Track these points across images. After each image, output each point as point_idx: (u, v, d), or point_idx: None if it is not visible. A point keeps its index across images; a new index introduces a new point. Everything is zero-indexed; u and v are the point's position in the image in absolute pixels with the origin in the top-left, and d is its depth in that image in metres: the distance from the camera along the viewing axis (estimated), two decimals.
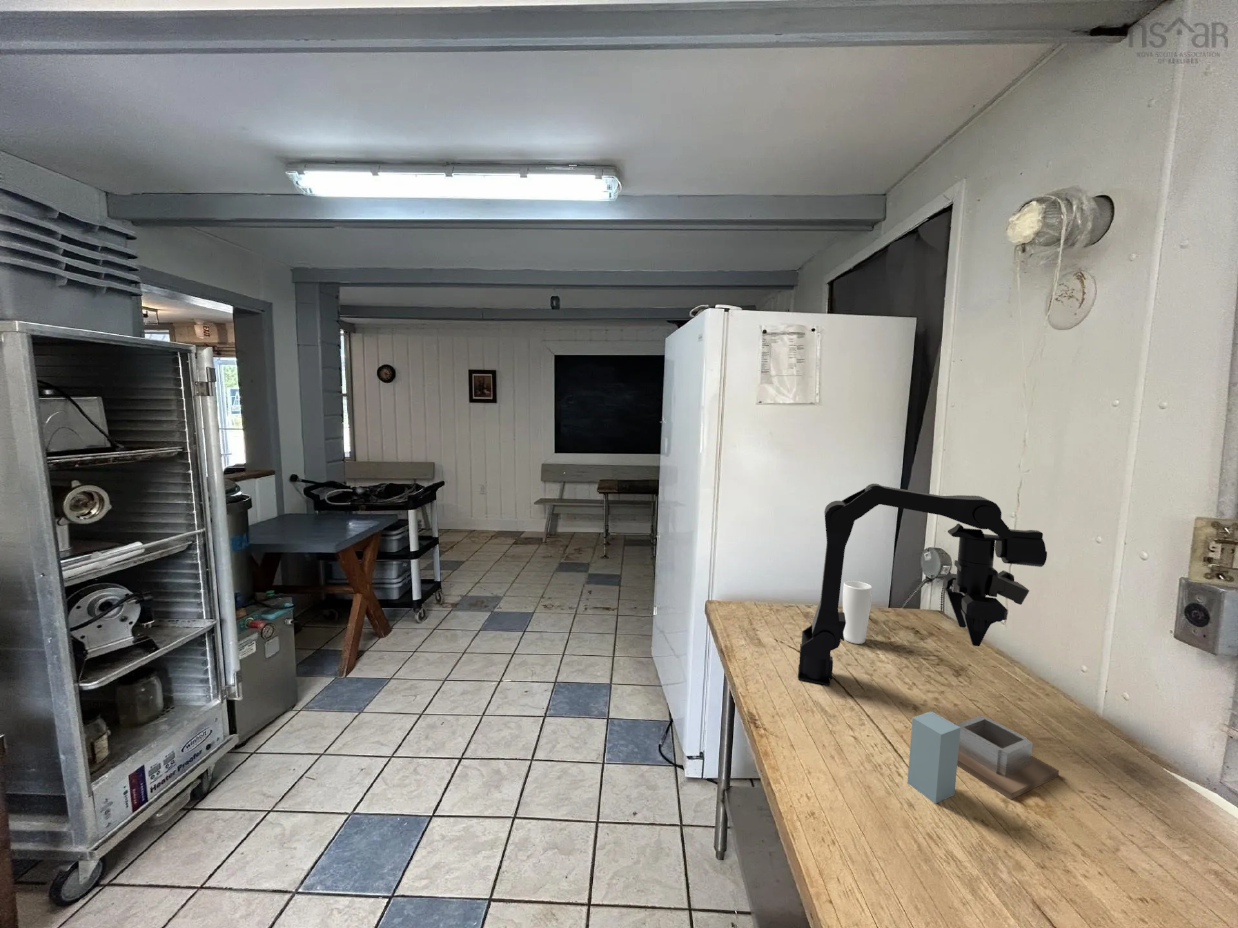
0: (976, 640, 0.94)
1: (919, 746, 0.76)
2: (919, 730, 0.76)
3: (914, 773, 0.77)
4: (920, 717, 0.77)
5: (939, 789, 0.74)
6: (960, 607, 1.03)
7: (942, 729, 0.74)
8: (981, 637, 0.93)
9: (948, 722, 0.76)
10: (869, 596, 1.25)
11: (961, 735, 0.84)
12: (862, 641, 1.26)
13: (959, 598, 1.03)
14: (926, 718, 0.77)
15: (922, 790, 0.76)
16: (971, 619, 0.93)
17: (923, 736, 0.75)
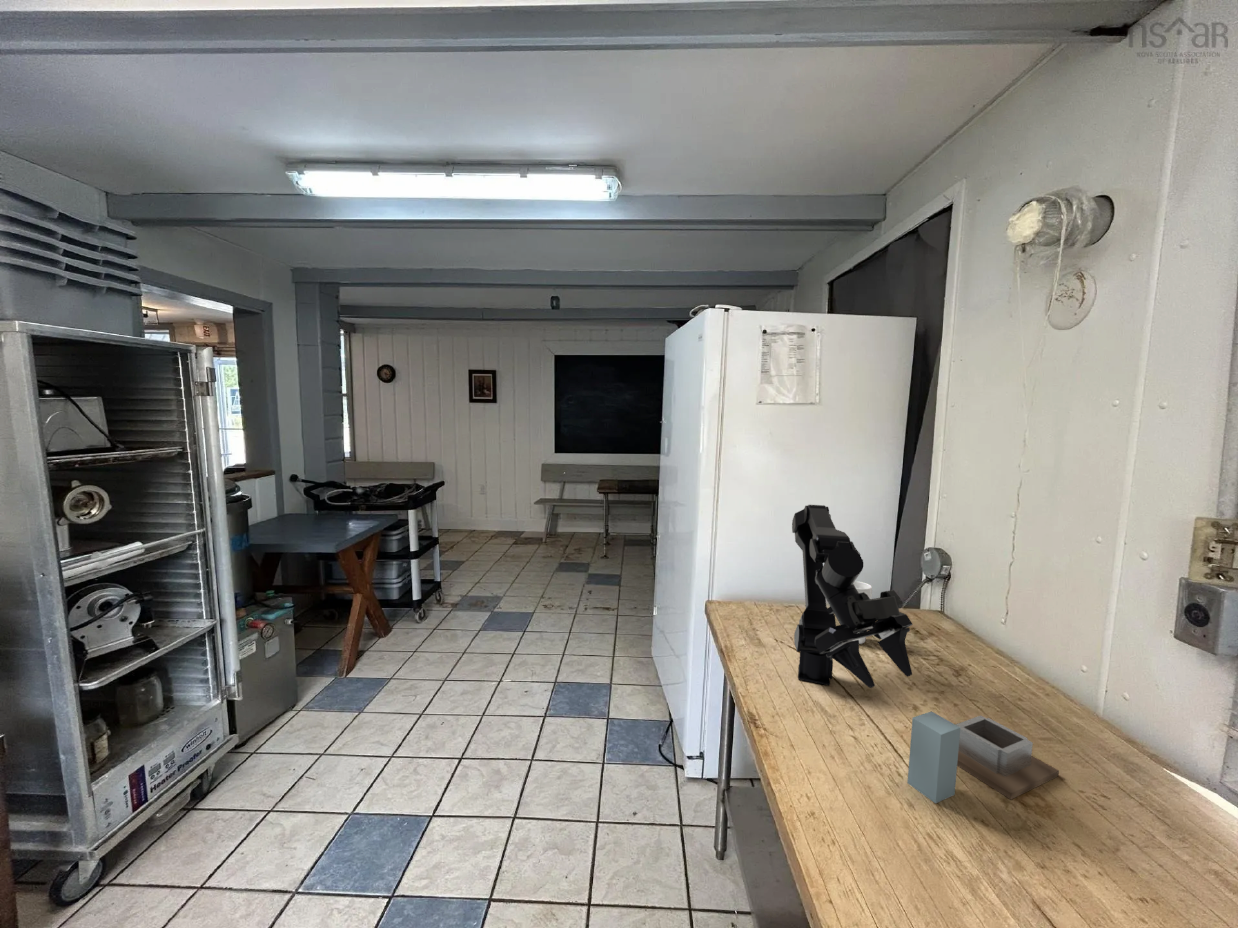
0: (865, 680, 0.82)
1: (919, 746, 0.76)
2: (919, 730, 0.76)
3: (914, 773, 0.77)
4: (920, 717, 0.77)
5: (939, 789, 0.74)
6: (894, 653, 0.88)
7: (942, 729, 0.74)
8: (865, 674, 0.82)
9: (948, 722, 0.76)
10: (869, 596, 1.25)
11: (961, 735, 0.84)
12: (862, 641, 1.26)
13: (888, 643, 0.89)
14: (926, 718, 0.77)
15: (922, 790, 0.76)
16: (840, 658, 0.85)
17: (923, 736, 0.75)
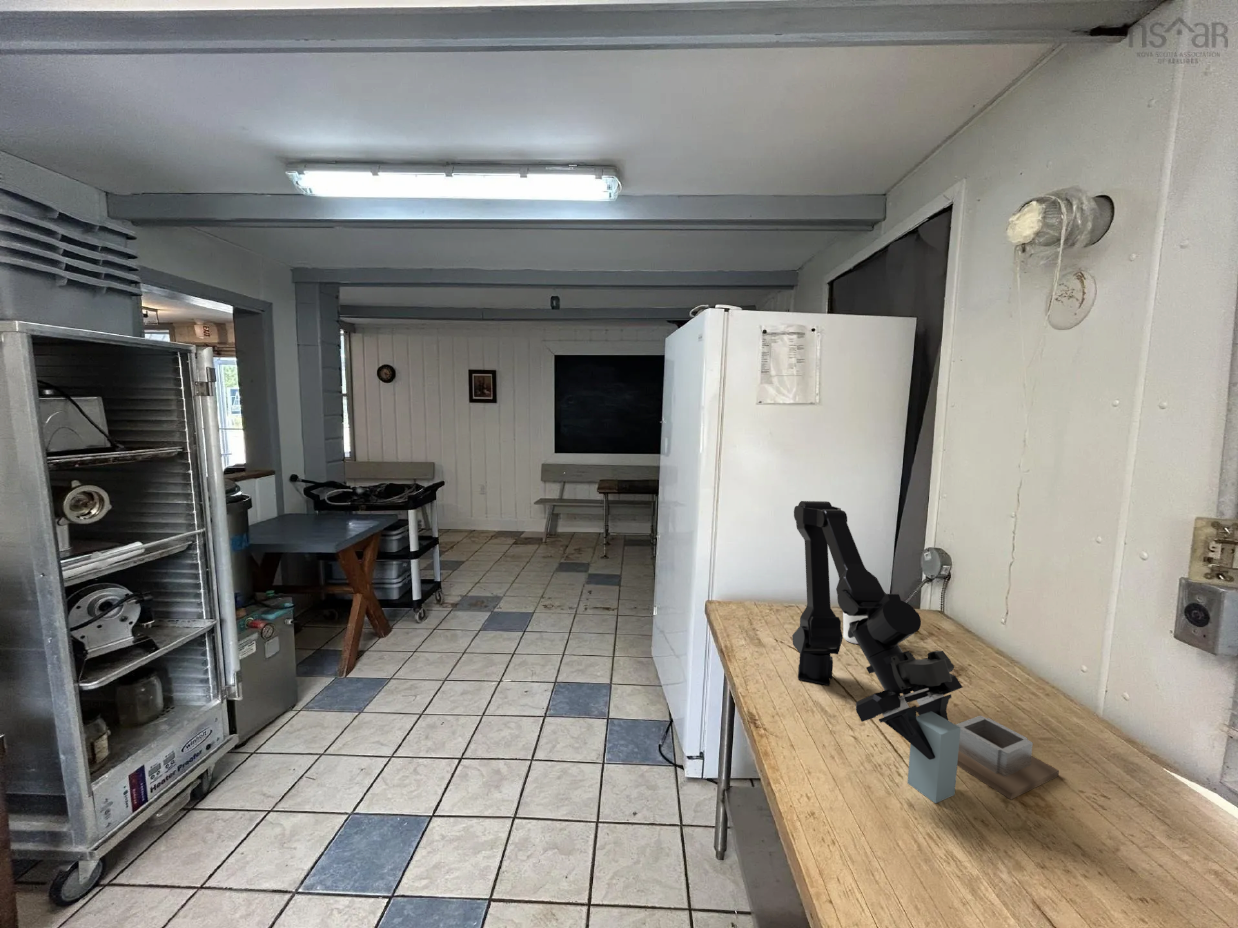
0: (924, 750, 0.75)
1: None
2: None
3: (914, 773, 0.77)
4: (920, 717, 0.77)
5: (939, 789, 0.74)
6: None
7: (942, 729, 0.74)
8: (924, 744, 0.74)
9: (948, 722, 0.76)
10: None
11: (961, 735, 0.84)
12: None
13: (926, 711, 0.80)
14: (926, 718, 0.77)
15: (922, 790, 0.76)
16: (894, 724, 0.78)
17: None
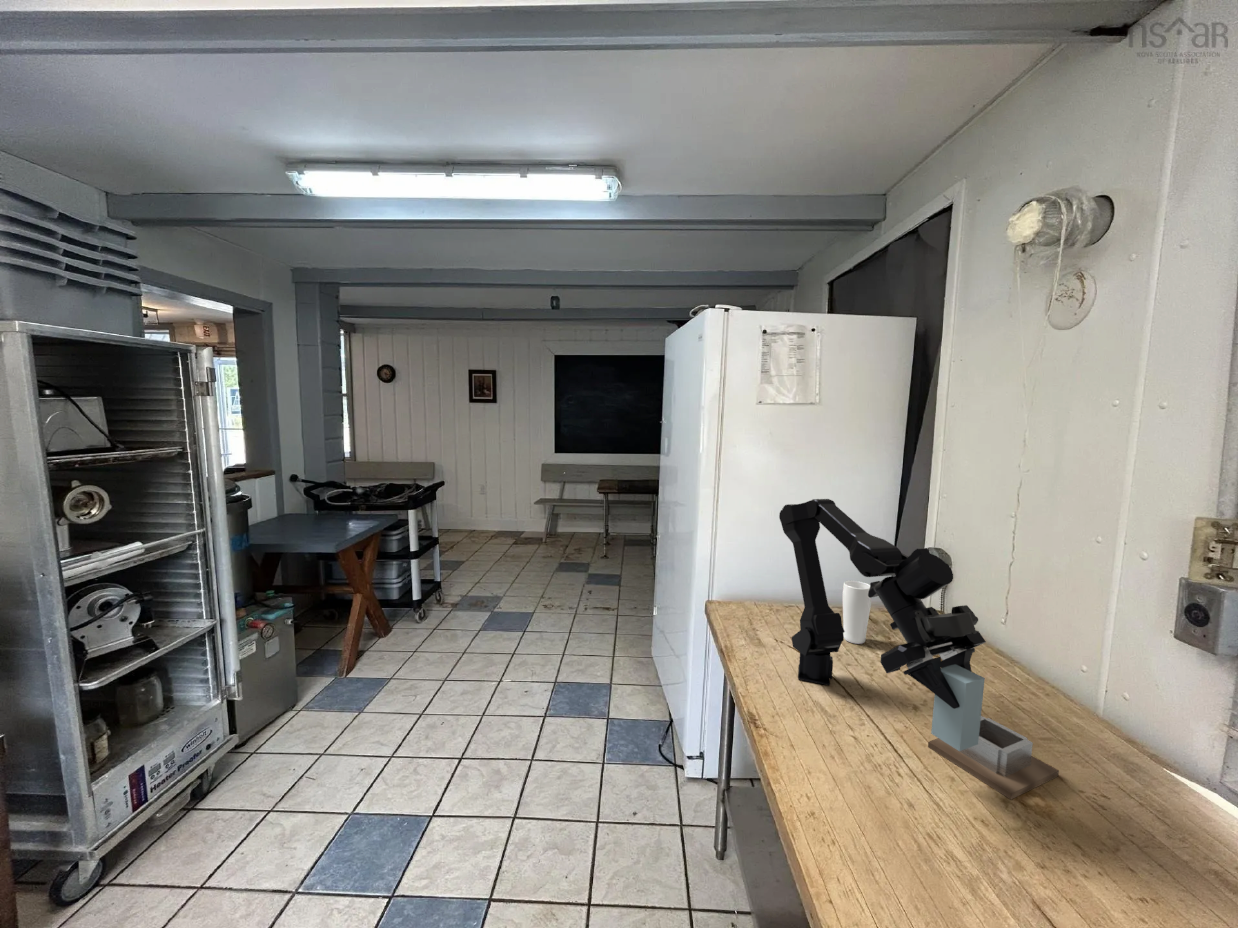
0: (948, 700, 0.76)
1: None
2: None
3: (938, 723, 0.79)
4: (945, 669, 0.79)
5: (963, 738, 0.76)
6: None
7: (967, 679, 0.76)
8: (949, 693, 0.76)
9: (972, 673, 0.77)
10: None
11: None
12: (862, 641, 1.26)
13: (950, 664, 0.82)
14: (950, 670, 0.78)
15: (946, 739, 0.77)
16: (918, 675, 0.79)
17: None
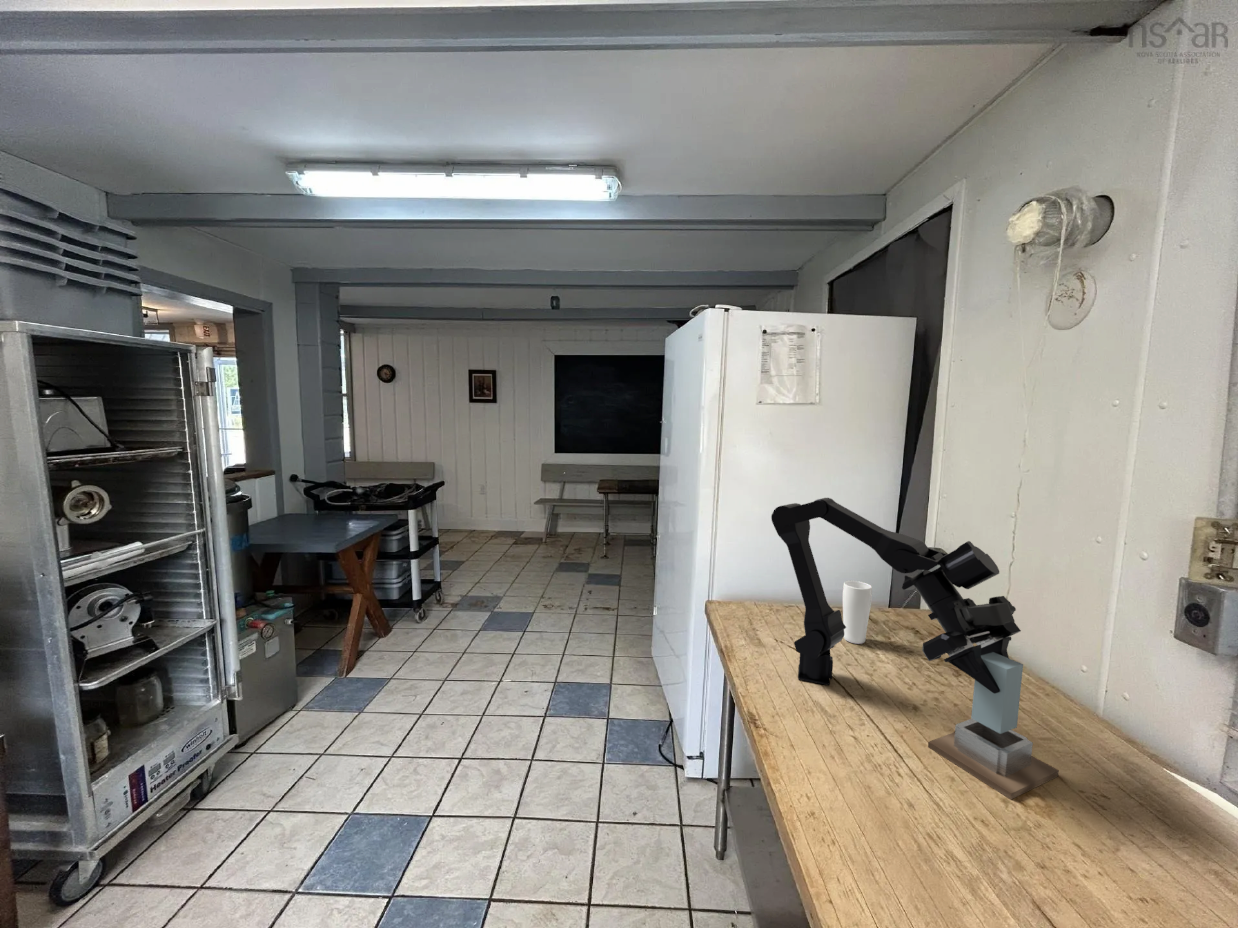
0: (989, 685, 0.80)
1: None
2: None
3: (978, 708, 0.83)
4: (984, 656, 0.83)
5: (1004, 721, 0.80)
6: None
7: (1007, 665, 0.80)
8: (989, 679, 0.80)
9: (1011, 660, 0.82)
10: (869, 596, 1.25)
11: (961, 735, 0.84)
12: (862, 641, 1.26)
13: (987, 652, 0.86)
14: (990, 657, 0.83)
15: (986, 723, 0.82)
16: (959, 663, 0.84)
17: None
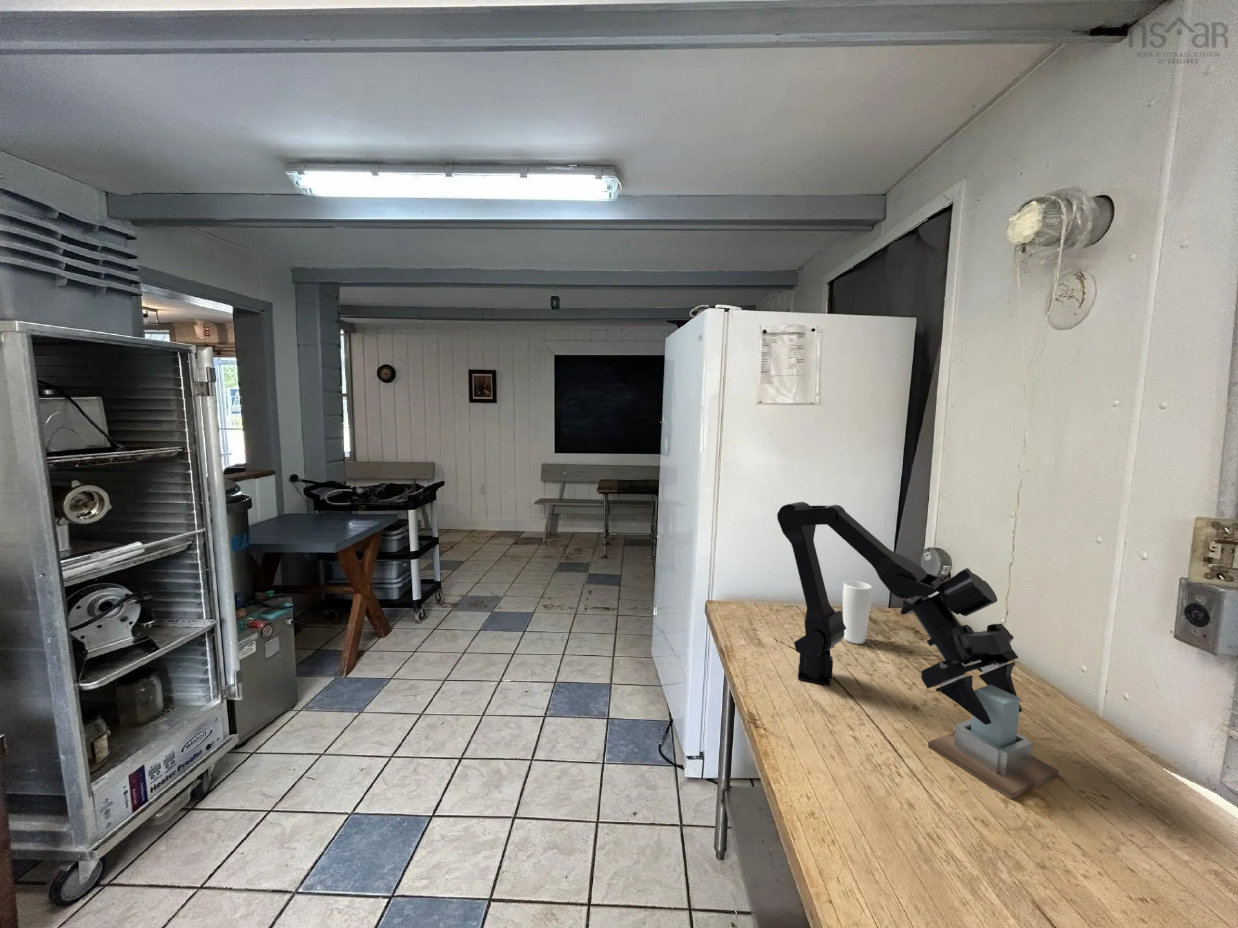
0: (980, 716, 0.80)
1: None
2: (981, 701, 0.83)
3: None
4: (982, 689, 0.84)
5: None
6: (999, 688, 0.86)
7: (1004, 700, 0.81)
8: (981, 710, 0.80)
9: (1008, 693, 0.82)
10: (869, 596, 1.25)
11: (961, 735, 0.84)
12: (862, 641, 1.26)
13: (991, 677, 0.87)
14: (987, 690, 0.83)
15: None
16: (950, 692, 0.83)
17: (985, 706, 0.82)
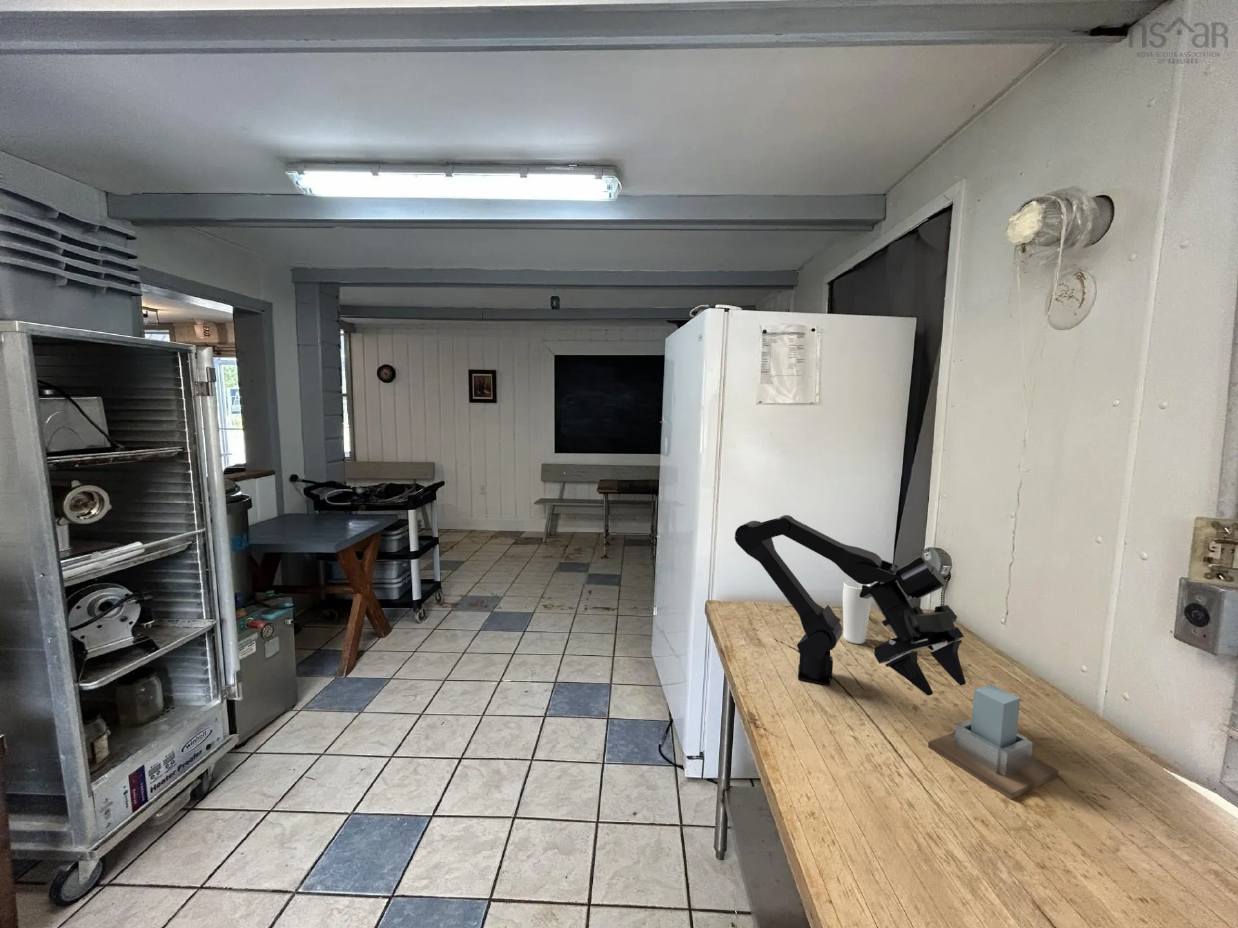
0: (923, 688, 0.89)
1: (981, 716, 0.83)
2: (981, 701, 0.83)
3: None
4: (982, 689, 0.84)
5: None
6: (947, 663, 0.95)
7: (1004, 700, 0.81)
8: (924, 683, 0.88)
9: (1008, 693, 0.82)
10: None
11: (961, 735, 0.84)
12: (862, 641, 1.26)
13: (941, 654, 0.96)
14: (987, 690, 0.83)
15: None
16: (898, 667, 0.92)
17: (985, 706, 0.82)
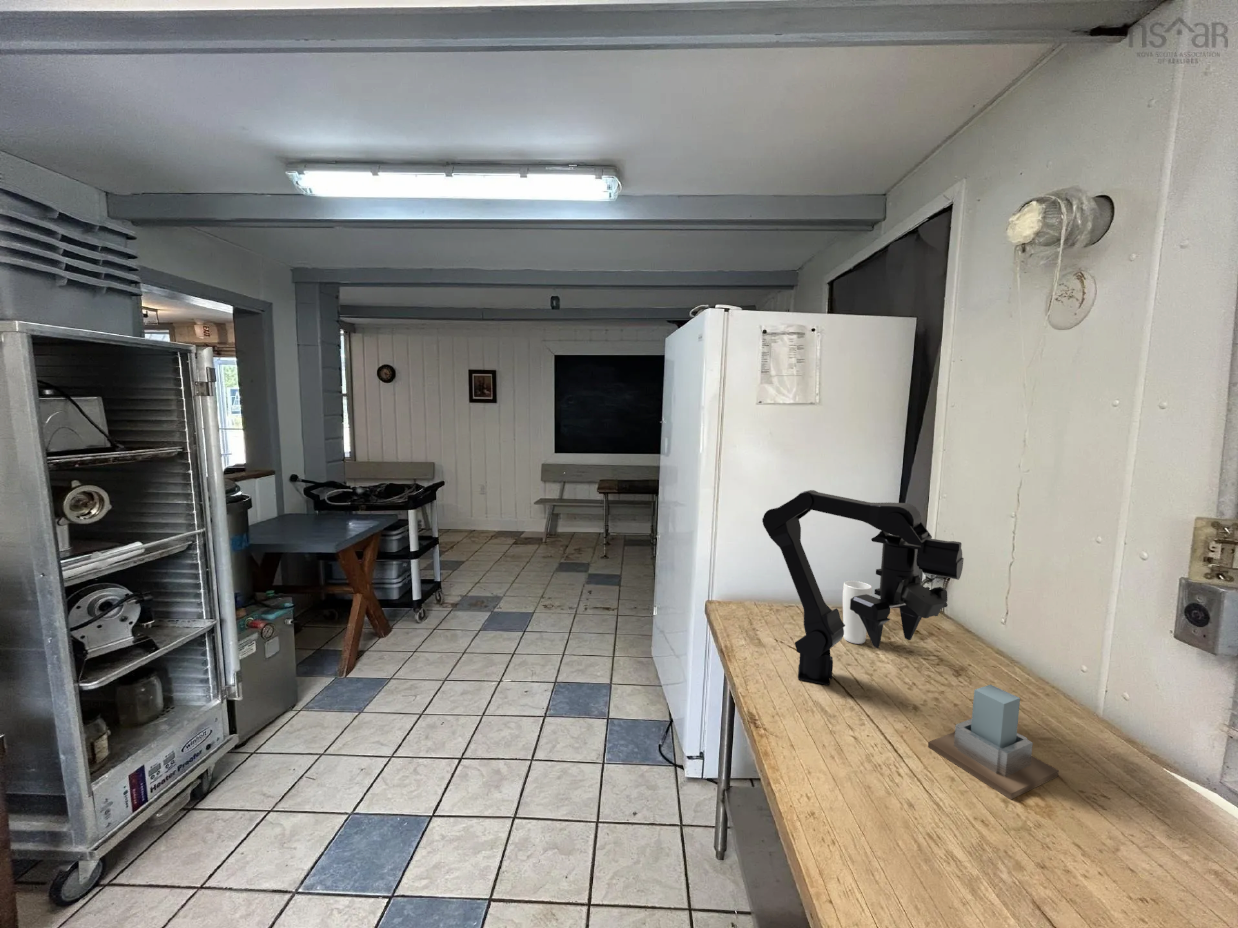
0: (873, 641, 0.96)
1: (981, 716, 0.83)
2: (981, 701, 0.83)
3: None
4: (982, 689, 0.84)
5: None
6: (907, 618, 1.00)
7: (1004, 700, 0.81)
8: (877, 639, 0.96)
9: (1008, 693, 0.82)
10: None
11: (961, 735, 0.84)
12: (862, 641, 1.26)
13: (907, 609, 1.01)
14: (987, 690, 0.83)
15: None
16: (864, 617, 0.97)
17: (985, 706, 0.82)
